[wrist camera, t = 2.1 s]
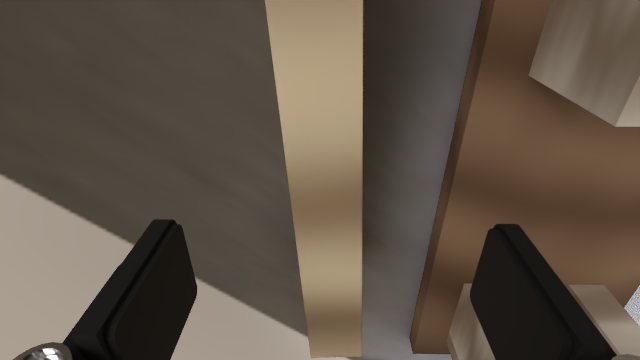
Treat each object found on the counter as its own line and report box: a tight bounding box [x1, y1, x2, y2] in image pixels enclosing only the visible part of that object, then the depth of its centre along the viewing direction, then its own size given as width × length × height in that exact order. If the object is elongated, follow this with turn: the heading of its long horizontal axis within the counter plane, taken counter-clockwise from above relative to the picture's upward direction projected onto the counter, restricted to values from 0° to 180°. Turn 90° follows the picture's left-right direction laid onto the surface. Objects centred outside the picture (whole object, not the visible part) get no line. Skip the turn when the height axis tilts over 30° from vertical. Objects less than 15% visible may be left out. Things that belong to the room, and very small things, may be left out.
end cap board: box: [409, 0, 640, 360], centre depth 16 cm, size 26×12×6 cm, turn 0°
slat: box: [265, 0, 363, 358], centre depth 14 cm, size 18×2×6 cm, turn 3°
